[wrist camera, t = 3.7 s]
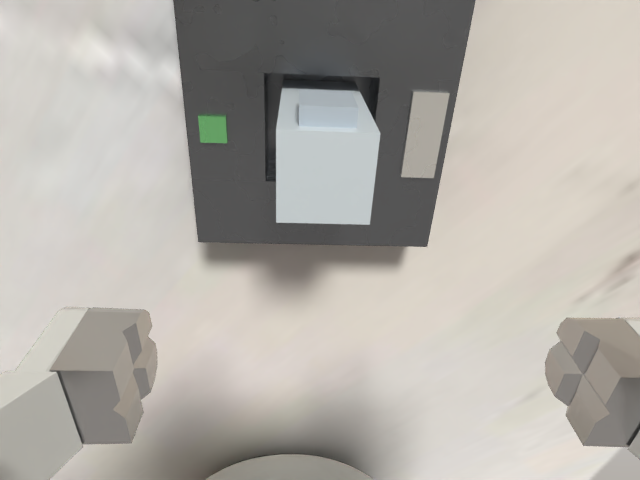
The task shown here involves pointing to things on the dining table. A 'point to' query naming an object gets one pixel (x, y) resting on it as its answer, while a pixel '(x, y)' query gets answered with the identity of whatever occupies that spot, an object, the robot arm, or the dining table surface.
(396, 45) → the panel
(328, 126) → the plug
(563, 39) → the dining table surface
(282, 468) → the serving bowl
